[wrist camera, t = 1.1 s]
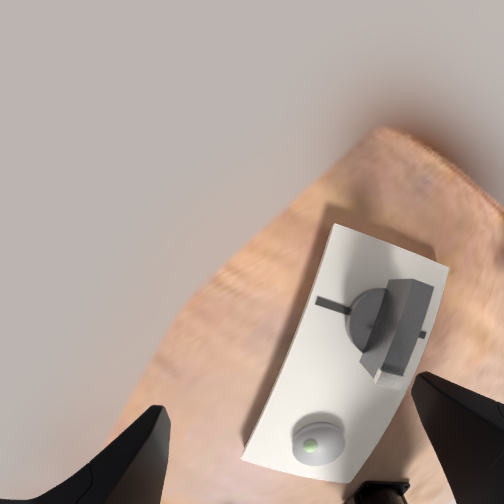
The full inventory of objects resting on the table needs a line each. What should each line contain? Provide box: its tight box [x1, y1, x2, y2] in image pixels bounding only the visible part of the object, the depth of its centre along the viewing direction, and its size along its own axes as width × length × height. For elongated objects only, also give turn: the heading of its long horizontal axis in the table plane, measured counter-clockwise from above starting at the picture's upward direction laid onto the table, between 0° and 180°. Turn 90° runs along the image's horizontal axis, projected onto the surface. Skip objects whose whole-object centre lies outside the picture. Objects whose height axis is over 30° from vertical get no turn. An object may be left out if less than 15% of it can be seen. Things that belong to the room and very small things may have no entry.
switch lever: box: [345, 278, 434, 390], centre depth 15 cm, size 5×6×6 cm
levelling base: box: [241, 223, 449, 484], centre depth 19 cm, size 11×22×4 cm, turn 161°
